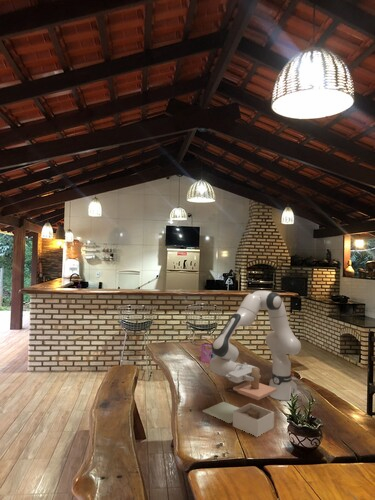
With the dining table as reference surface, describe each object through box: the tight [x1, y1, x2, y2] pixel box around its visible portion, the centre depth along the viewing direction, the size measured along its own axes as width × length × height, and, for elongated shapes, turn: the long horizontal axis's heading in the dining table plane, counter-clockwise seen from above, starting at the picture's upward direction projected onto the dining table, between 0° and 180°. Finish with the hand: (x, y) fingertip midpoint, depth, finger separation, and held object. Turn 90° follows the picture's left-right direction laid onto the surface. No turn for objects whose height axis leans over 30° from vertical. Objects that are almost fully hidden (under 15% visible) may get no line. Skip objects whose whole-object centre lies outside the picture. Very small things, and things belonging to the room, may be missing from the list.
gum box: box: [200, 342, 217, 364], centre depth 301 cm, size 24×8×14 cm, turn 61°
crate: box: [232, 402, 275, 438], centre depth 195 cm, size 15×15×8 cm
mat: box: [201, 401, 239, 424], centre depth 211 cm, size 19×19×1 cm
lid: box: [232, 366, 277, 401], centre depth 195 cm, size 16×16×13 cm
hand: (256, 378), depth 195 cm, fingers closed on lid, 4 cm apart
